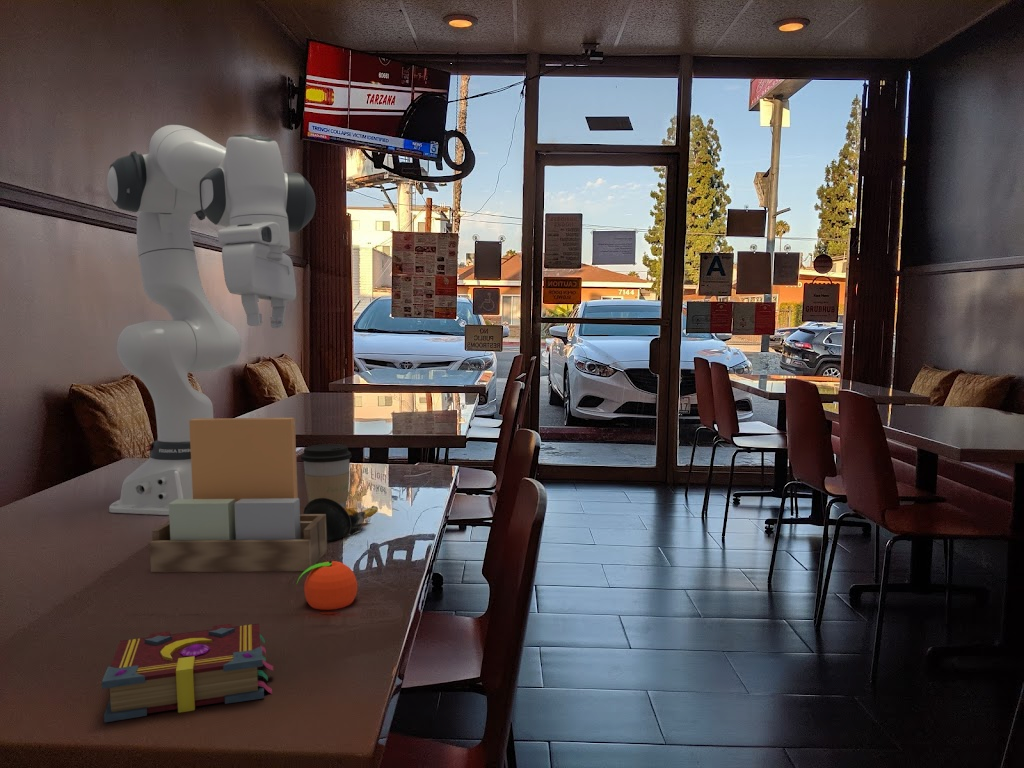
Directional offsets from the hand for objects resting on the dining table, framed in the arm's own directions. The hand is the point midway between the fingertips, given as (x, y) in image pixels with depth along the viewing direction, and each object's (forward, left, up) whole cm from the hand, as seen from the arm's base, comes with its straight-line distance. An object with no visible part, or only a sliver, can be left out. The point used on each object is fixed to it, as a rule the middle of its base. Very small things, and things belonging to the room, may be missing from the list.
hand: (266, 327), depth 127 cm
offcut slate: (+1, -6, -36) cm, 37 cm away
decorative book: (+5, -43, -38) cm, 58 cm away
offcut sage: (-9, -6, -36) cm, 38 cm away
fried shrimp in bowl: (+8, +14, -38) cm, 41 cm away
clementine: (+14, -22, -38) cm, 46 cm away
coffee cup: (+3, +23, -38) cm, 44 cm away
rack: (-4, -4, -38) cm, 38 cm away
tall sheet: (-4, -1, -36) cm, 37 cm away
